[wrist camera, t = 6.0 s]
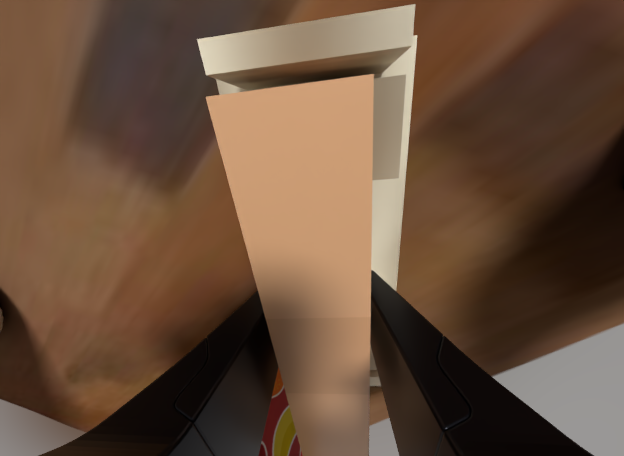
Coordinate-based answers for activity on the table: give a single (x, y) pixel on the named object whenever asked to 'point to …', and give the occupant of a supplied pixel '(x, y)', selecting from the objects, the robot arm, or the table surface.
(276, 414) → the smoothie
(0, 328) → the canister
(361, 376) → the tapered tan board
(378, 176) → the display stand
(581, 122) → the table surface
